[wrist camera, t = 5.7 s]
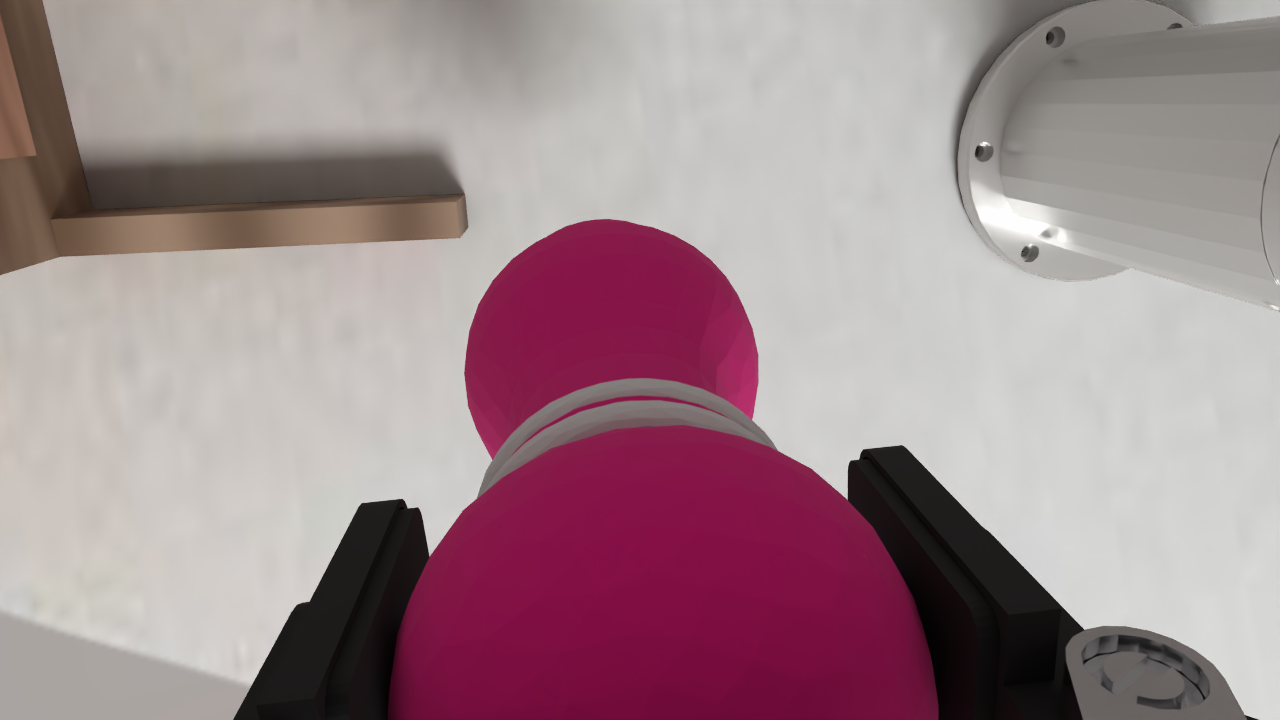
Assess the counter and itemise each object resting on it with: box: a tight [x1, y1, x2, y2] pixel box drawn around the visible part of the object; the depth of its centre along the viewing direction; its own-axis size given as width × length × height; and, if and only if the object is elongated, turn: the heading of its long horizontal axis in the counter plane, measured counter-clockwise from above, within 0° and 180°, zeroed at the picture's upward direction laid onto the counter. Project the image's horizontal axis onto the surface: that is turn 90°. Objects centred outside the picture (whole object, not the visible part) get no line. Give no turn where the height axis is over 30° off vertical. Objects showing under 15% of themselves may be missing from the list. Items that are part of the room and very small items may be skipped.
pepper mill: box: [388, 219, 939, 720], centre depth 15 cm, size 7×7×20 cm
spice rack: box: [0, 0, 468, 275], centre depth 30 cm, size 18×14×8 cm
